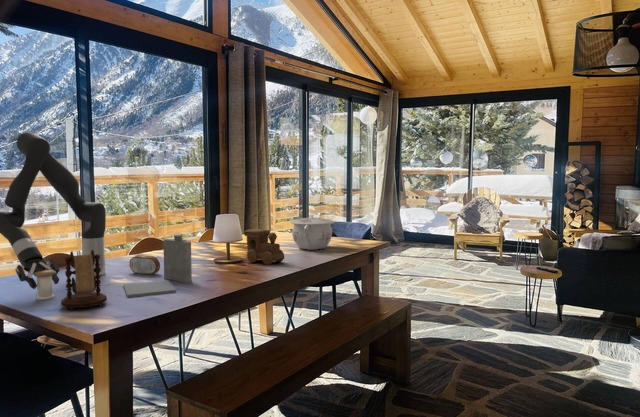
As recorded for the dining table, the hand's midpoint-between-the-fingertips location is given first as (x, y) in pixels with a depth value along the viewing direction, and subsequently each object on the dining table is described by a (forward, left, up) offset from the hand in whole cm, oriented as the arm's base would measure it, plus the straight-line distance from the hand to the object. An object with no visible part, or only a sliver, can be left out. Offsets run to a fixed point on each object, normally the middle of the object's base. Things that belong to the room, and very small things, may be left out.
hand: (46, 285), depth 184 cm
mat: (+3, +36, -5) cm, 37 cm away
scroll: (+17, +13, -5) cm, 22 cm away
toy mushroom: (-1, -1, -5) cm, 5 cm away
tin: (-29, +38, -5) cm, 48 cm away
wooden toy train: (-31, +98, -5) cm, 103 cm away
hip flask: (-10, +50, -5) cm, 52 cm away
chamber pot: (-60, +139, -5) cm, 152 cm away
